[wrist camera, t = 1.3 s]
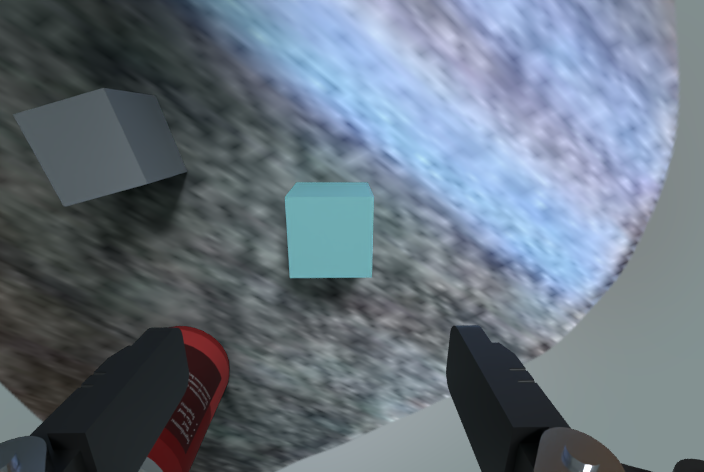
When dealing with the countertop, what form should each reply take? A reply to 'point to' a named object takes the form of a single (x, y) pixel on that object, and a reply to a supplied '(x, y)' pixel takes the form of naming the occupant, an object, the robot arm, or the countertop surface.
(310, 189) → the teal block
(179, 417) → the canned food
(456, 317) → the countertop surface
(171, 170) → the slate block
